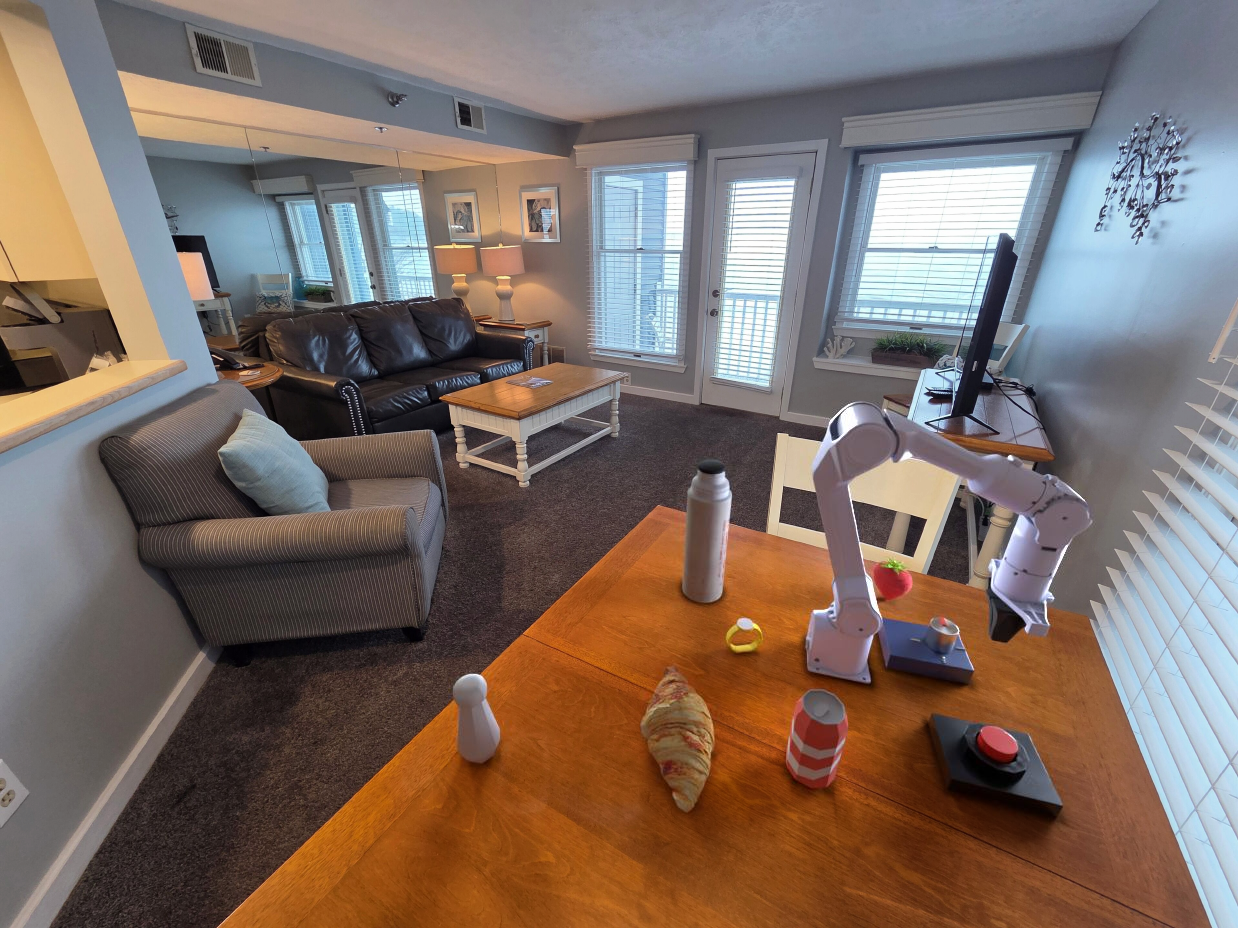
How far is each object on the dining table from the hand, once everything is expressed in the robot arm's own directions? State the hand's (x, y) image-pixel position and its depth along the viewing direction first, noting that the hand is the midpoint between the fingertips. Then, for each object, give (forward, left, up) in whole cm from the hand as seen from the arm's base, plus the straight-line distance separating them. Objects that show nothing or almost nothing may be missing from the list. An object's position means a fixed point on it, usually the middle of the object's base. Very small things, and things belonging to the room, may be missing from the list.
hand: (997, 638), depth 74 cm
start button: (-3, -14, -7) cm, 16 cm away
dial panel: (-7, +5, -10) cm, 13 cm away
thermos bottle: (-45, +12, -11) cm, 48 cm away
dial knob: (-5, +5, -7) cm, 10 cm away
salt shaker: (-70, -31, -11) cm, 77 cm away
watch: (-36, -2, -11) cm, 38 cm away
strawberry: (-10, +19, -11) cm, 24 cm away
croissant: (-44, -22, -11) cm, 50 cm away
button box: (-3, -14, -10) cm, 18 cm away
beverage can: (-26, -21, -11) cm, 35 cm away
